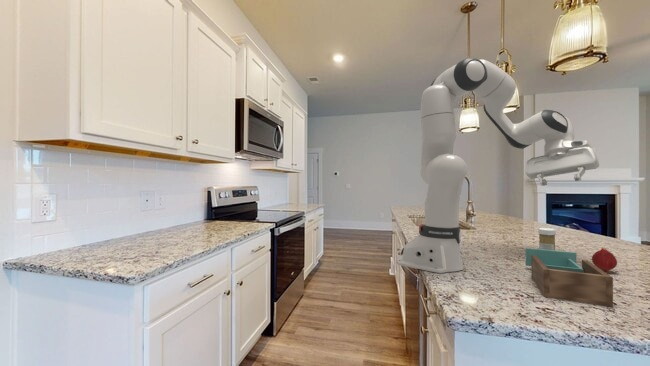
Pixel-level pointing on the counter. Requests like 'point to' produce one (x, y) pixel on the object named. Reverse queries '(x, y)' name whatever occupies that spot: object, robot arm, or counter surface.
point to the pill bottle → (547, 238)
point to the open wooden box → (574, 283)
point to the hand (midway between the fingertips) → (560, 182)
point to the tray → (554, 259)
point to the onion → (604, 260)
